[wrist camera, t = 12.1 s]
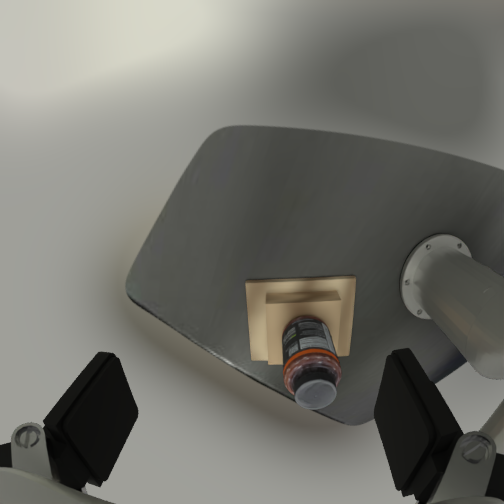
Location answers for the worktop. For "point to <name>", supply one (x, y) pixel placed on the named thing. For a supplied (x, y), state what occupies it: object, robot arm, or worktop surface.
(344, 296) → the oak base
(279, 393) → the worktop surface
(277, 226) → the worktop surface
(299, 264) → the worktop surface
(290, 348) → the supplement bottle
